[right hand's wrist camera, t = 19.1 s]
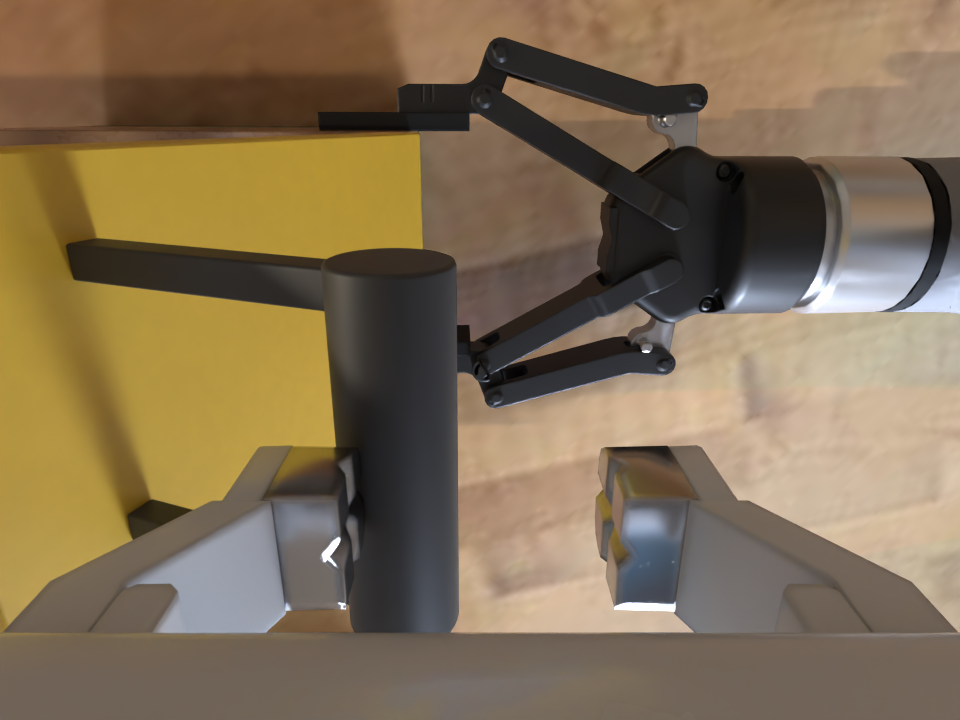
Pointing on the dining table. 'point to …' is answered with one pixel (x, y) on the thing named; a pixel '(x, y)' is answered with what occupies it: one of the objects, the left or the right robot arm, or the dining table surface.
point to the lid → (225, 349)
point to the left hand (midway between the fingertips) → (334, 238)
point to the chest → (151, 133)
